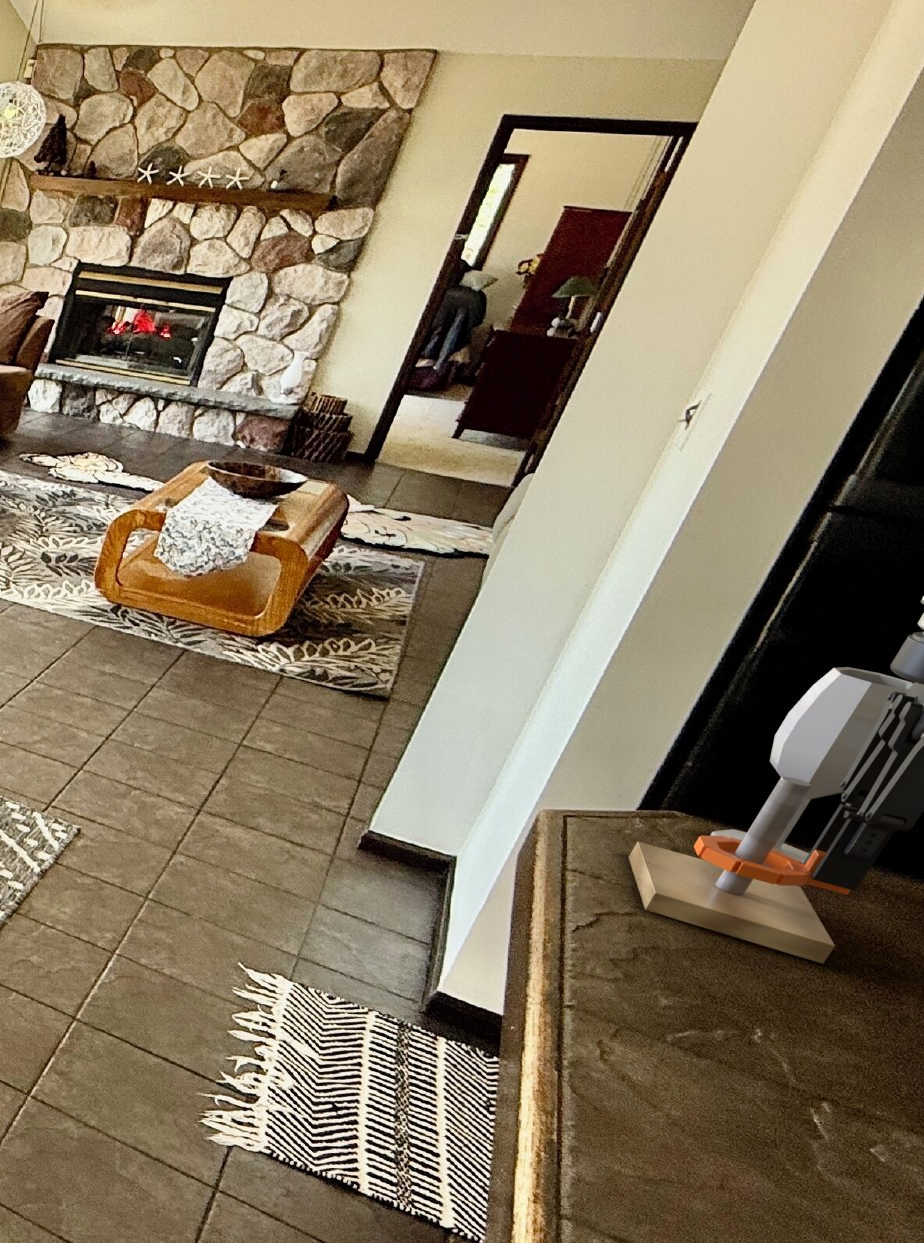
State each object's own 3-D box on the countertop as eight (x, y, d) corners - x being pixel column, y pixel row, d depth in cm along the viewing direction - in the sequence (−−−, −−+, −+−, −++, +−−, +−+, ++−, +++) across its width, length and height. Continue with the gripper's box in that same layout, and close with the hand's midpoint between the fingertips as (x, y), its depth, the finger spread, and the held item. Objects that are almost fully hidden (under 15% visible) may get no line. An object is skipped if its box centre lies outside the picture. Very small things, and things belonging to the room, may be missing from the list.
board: (789, 903, 116) (870, 780, 110) (823, 964, 106) (913, 831, 100) (628, 857, 123) (696, 738, 117) (644, 909, 113) (720, 782, 107)
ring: (835, 877, 111) (853, 850, 110) (855, 907, 106) (874, 879, 105) (689, 838, 117) (704, 812, 116) (701, 864, 112) (717, 837, 111)
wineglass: (829, 865, 125) (947, 686, 116) (815, 886, 120) (937, 701, 112) (716, 829, 131) (820, 656, 123) (699, 847, 126) (806, 669, 118)
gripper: (888, 612, 108) (755, 833, 117) (941, 652, 96) (789, 893, 106) (1013, 634, 103) (865, 861, 113) (1084, 678, 92) (912, 927, 101)
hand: (828, 876), depth 109 cm, fingers closed on ring, 3 cm apart
